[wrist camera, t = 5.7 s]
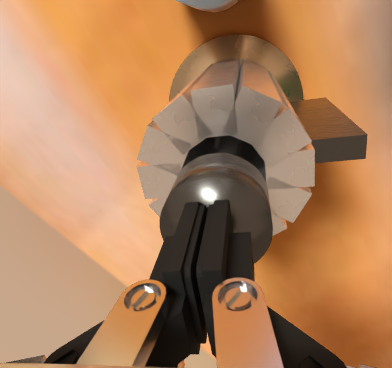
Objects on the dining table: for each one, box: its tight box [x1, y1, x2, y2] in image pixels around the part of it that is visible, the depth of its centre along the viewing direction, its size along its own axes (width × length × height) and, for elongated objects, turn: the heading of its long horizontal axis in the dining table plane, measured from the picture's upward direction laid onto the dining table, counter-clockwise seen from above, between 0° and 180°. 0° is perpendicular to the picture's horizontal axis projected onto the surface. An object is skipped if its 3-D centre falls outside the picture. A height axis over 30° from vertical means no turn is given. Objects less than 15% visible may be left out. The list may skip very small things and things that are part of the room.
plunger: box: [160, 135, 273, 263], centre depth 20 cm, size 4×4×19 cm
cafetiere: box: [137, 34, 367, 236], centre depth 24 cm, size 14×13×17 cm
